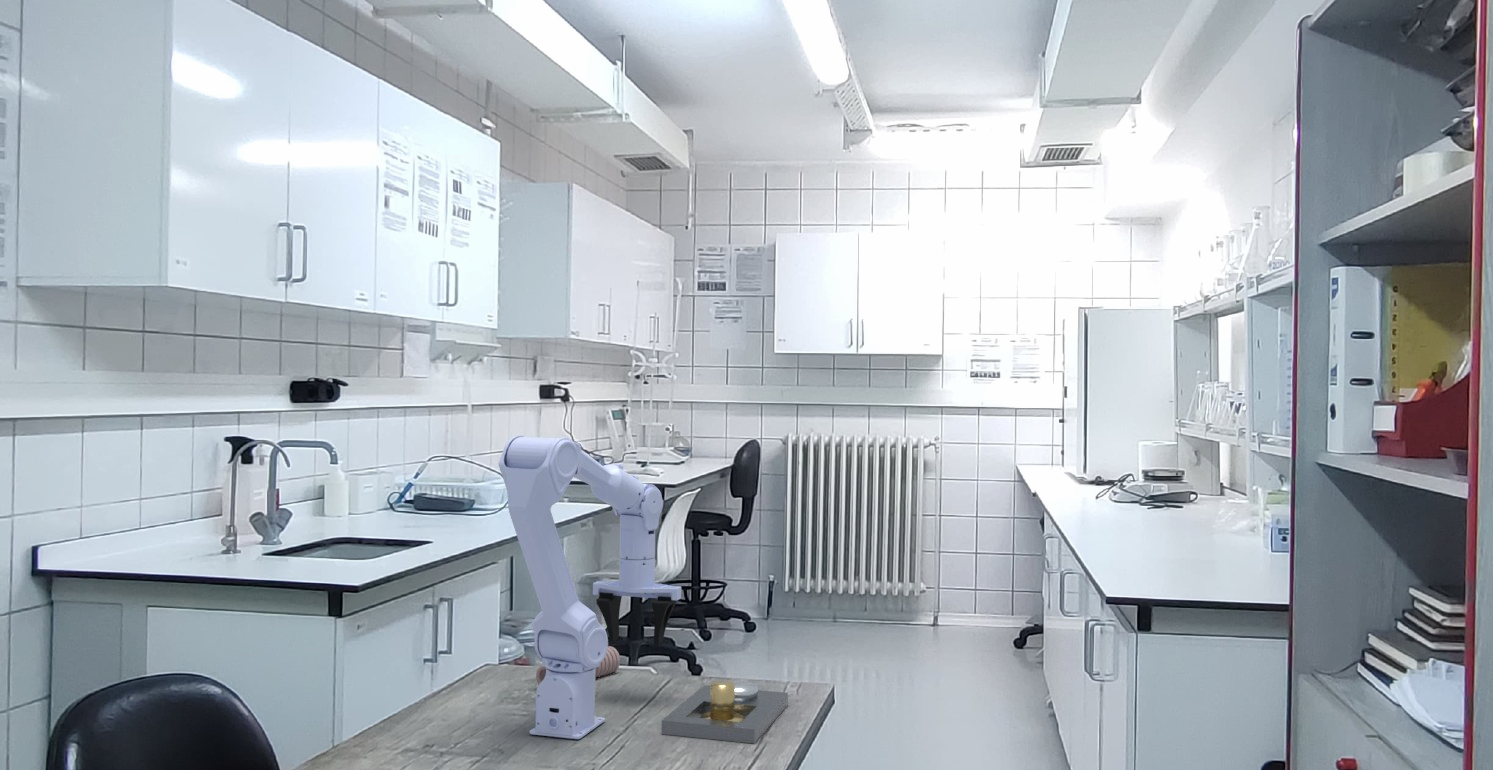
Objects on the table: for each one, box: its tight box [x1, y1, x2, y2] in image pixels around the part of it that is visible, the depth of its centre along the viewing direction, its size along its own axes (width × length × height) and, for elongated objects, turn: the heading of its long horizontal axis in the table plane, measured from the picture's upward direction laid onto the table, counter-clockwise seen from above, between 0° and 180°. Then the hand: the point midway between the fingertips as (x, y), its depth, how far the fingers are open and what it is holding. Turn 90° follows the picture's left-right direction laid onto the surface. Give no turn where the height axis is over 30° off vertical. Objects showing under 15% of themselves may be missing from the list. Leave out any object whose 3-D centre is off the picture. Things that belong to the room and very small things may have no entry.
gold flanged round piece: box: [700, 680, 745, 722], centre depth 165 cm, size 6×6×6 cm
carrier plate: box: [661, 680, 789, 744], centre depth 167 cm, size 20×14×4 cm
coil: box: [535, 645, 621, 686], centre depth 188 cm, size 5×5×18 cm
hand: (636, 642), depth 177 cm, fingers open, 7 cm apart
